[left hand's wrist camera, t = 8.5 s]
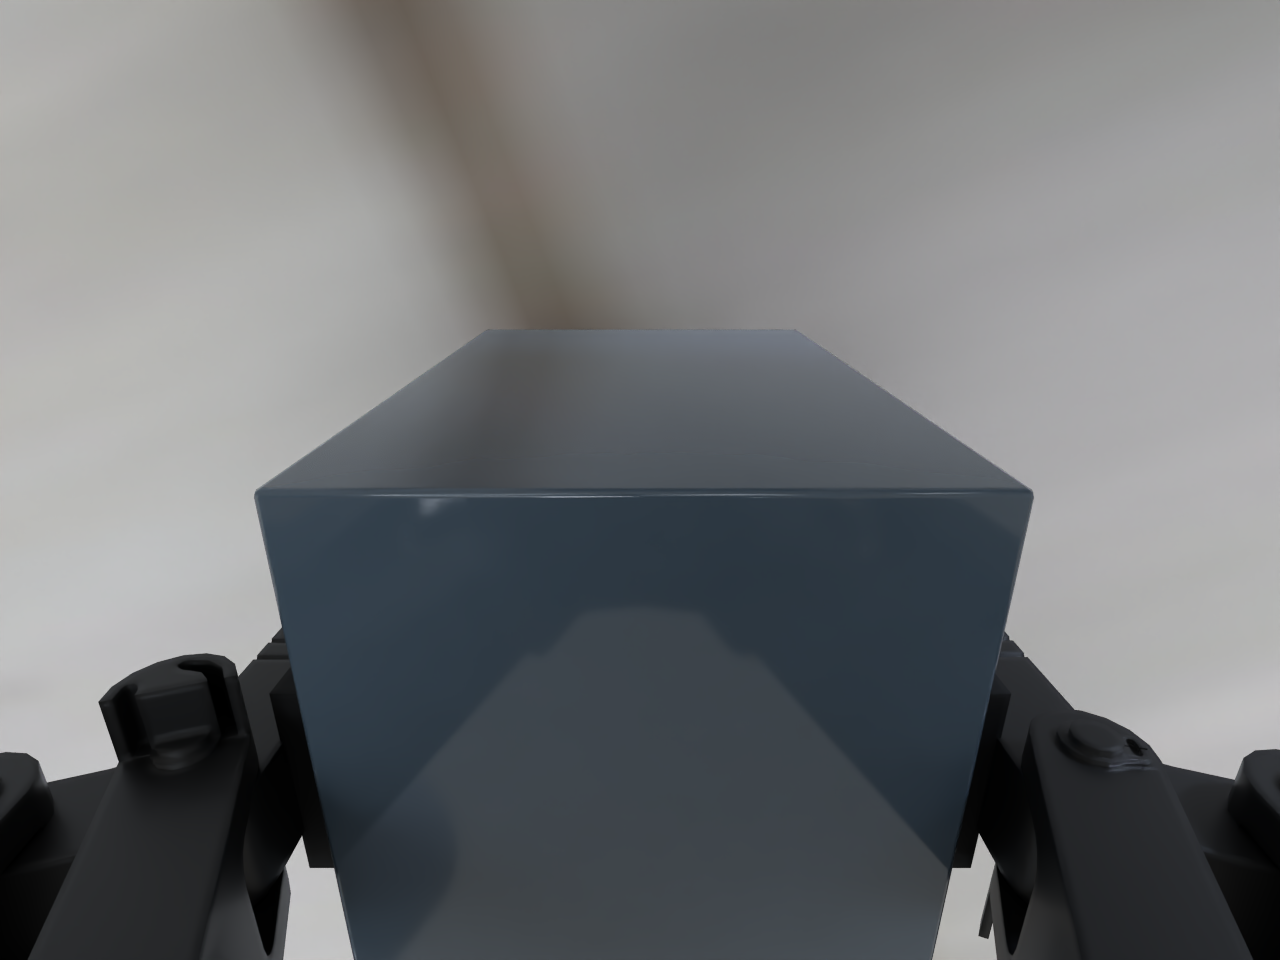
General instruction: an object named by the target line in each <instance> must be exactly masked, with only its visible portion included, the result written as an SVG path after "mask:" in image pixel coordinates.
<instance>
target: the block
mask: <svg viewBox="0 0 1280 960" xmlns="http://www.w3.org/2000/svg"><path fill="white" fill-rule="evenodd" d="M254 499H255V504H256V508H257V513H258V518H259V522H260V527H261V532H262V536H263V541H264V545H265V550H266V555H267V559H268V564H269V569H270V573H271V578H272V582H273V587H274V592H275V596H276V601H277V606H278V610H279V615H280V619H281V624H282V629H283V633H284V638H285V643H286V647H287V652H288V656H289V661H290V666H291V670H292V675H293V680H294V684H295V689H296V693H297V698H298V703H299V707H300V712H301V717H302V721H303V726H304V731H305V735H306V740H307V744H308V749H309V754H310V758H311V763H312V768H313V772H314V777H315V781H316V786H317V791H318V795H319V800H320V805H321V809H322V814H323V818H324V823H325V828H326V832H327V837H328V842H329V846H330V851H331V855H332V860H333V865H334V869H335V874H336V879H337V883H338V888H339V892H340V897H341V902H342V906H343V911H344V916H345V920H346V925H347V930H348V934H349V939H350V943H351V948H352V953H353V957H354V960H932V957H933V953H934V948H935V944H936V939H937V935H938V930H939V925H940V921H941V916H942V912H943V907H944V903H945V898H946V894H947V889H948V885H949V880H950V876H951V871H952V867H953V862H954V857H955V853H956V848H957V844H958V839H959V835H960V830H961V826H962V821H963V817H964V812H965V808H966V803H967V798H968V794H969V789H970V785H971V780H972V776H973V771H974V767H975V762H976V758H977V753H978V749H979V744H980V740H981V735H982V730H983V726H984V721H985V717H986V712H987V708H988V703H989V699H990V694H991V690H992V685H993V681H994V676H995V671H996V667H997V662H998V658H999V653H1000V649H1001V644H1002V640H1003V635H1004V631H1005V626H1006V622H1007V617H1008V613H1009V608H1010V603H1011V599H1012V594H1013V590H1014V585H1015V581H1016V576H1017V572H1018V567H1019V563H1020V558H1021V554H1022V549H1023V544H1024V540H1025V535H1026V531H1027V526H1028V522H1029V517H1030V513H1031V508H1032V504H1033V499H1034V495H1033V491H1032V489H1030V488H1029V487H1027V486H1026V485H1024V484H1023V483H1021V482H1020V481H1018V480H1017V479H1015V478H1014V477H1012V476H1011V475H1009V474H1008V473H1007V472H1005V471H1004V470H1002V469H1001V468H999V467H998V466H996V465H995V464H993V463H992V462H990V461H989V460H987V459H986V458H984V457H983V456H981V455H980V454H979V453H977V452H976V451H974V450H973V449H971V448H970V447H968V446H967V445H965V444H964V443H962V442H961V441H959V440H958V439H956V438H955V437H954V436H952V435H951V434H949V433H948V432H946V431H945V430H943V429H942V428H940V427H939V426H937V425H936V424H934V423H933V422H931V421H930V420H929V419H927V418H926V417H924V416H923V415H921V414H920V413H918V412H917V411H915V410H914V409H912V408H911V407H909V406H908V405H906V404H905V403H904V402H902V401H901V400H899V399H898V398H896V397H895V396H893V395H892V394H890V393H889V392H887V391H886V390H884V389H883V388H881V387H880V386H878V385H877V384H876V383H874V382H873V381H871V380H870V379H868V378H867V377H865V376H864V375H862V374H861V373H859V372H858V371H856V370H855V369H853V368H852V367H851V366H849V365H848V364H846V363H845V362H843V361H842V360H840V359H839V358H837V357H836V356H834V355H833V354H831V353H830V352H828V351H827V350H826V349H824V348H823V347H821V346H820V345H818V344H817V343H815V342H814V341H812V340H811V339H809V338H808V337H806V336H805V335H803V334H802V333H800V332H799V331H797V330H486V331H484V332H483V333H481V334H480V335H478V336H477V337H476V338H474V339H473V340H471V341H470V342H468V343H467V344H466V345H464V346H463V347H461V348H460V349H458V350H457V351H455V352H454V353H453V354H451V355H450V356H448V357H447V358H445V359H444V360H442V361H441V362H440V363H438V364H437V365H435V366H434V367H432V368H431V369H429V370H428V371H427V372H425V373H424V374H422V375H421V376H419V377H418V378H416V379H415V380H414V381H412V382H411V383H409V384H408V385H406V386H405V387H404V388H402V389H401V390H399V391H398V392H396V393H395V394H393V395H392V396H391V397H389V398H388V399H386V400H385V401H383V402H382V403H380V404H379V405H378V406H376V407H375V408H373V409H372V410H370V411H369V412H367V413H366V414H365V415H363V416H362V417H360V418H359V419H357V420H356V421H355V422H353V423H352V424H350V425H349V426H347V427H346V428H344V429H343V430H342V431H340V432H339V433H337V434H336V435H334V436H333V437H331V438H330V439H329V440H327V441H326V442H324V443H323V444H321V445H320V446H318V447H317V448H316V449H314V450H313V451H311V452H310V453H308V454H307V455H305V456H304V457H303V458H301V459H300V460H298V461H297V462H295V463H294V464H293V465H291V466H290V467H288V468H287V469H285V470H284V471H282V472H281V473H280V474H278V475H277V476H275V477H274V478H272V479H271V480H269V481H268V482H267V483H265V484H264V485H262V486H261V487H259V488H258V489H256V491H255V496H254Z"/></svg>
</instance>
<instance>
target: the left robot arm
mask: <svg viewBox="0 0 1280 960" xmlns="http://www.w3.org/2000/svg"><path fill="white" fill-rule="evenodd" d="M99 705H100V708H101V711H102V714H103V717H104V720H105V723H106V726H107V729H108V731H109V734H110V737H111V740H112V743H113V746H114V749H115V752H116V755H117V758H118V761H119V763H118V765H117V767H115V768H112V769H108V770H103V771H99V772H94V773H90V774H85V775H80V776H76V777H71V778H66V779H62V780H57V781H52V782H48V783H47V782H46V779H45V777H44V774H43V772H42V769H41V767H40V764H39V762H38V760H36V759H35V758H33V757H31V756H30V755H28V754H27V753H11V752H4V753H0V960H283V956H284V947H285V938H286V930H287V921H288V912H289V904H290V895H291V892H290V885H289V878H288V874H287V870H286V866H285V865H286V863H287V862H288V860H289V858H290V856H291V854H292V853H293V851H294V849H295V847H296V845H297V844H298V842H299V840H300V838H301V836H302V837H303V841H304V845H305V849H306V854H307V858H308V862H309V867H310V868H334V865H333V860H332V855H331V851H330V846H329V842H328V837H327V832H326V828H325V823H324V818H323V814H322V809H321V805H320V800H319V795H318V791H317V786H316V781H315V777H314V772H313V768H312V763H311V758H310V754H309V749H308V744H307V740H306V735H305V731H304V726H303V721H302V717H301V712H300V707H299V703H298V698H297V693H296V689H295V684H294V680H293V675H292V670H291V666H290V661H289V656H288V652H287V647H286V643H285V638H284V633H283V629H282V628H281V629H280V630H279V631H278V633H277V634H276V635H275V636H274V637H273V638H272V642H271V643H268V644H267V645H266V646H265V647H264V648H263V649H262V651H261V652H260V653H259V654H258V655H257V660H253V661H252V662H251V663H250V664H249V665H248V666H247V668H246V669H245V670H244V671H243V672H242V673H241V674H240V675H239V677H238V674H237V670H236V666H235V664H234V663H233V662H232V661H230V660H229V659H227V658H226V657H225V656H220V655H213V654H207V653H205V654H194V655H183V656H179V657H175V658H172V659H168V660H164V661H160V662H157V663H155V664H152V665H150V666H148V667H145V668H143V669H141V670H139V671H136V672H134V673H132V674H130V675H129V676H127V677H126V678H124V679H123V680H121V681H120V682H118V683H117V684H115V685H114V686H112V687H111V688H110V689H109V691H108V692H107V693H106V694H105V695H104V696H103V697H102V698H101V700H100V701H99ZM978 834H980V836H981V837H982V839H983V841H984V843H985V845H986V846H987V848H988V850H989V852H990V854H991V855H992V857H993V859H994V861H995V866H994V870H993V874H992V878H991V882H990V886H989V890H988V894H987V898H986V902H985V906H984V910H983V914H982V918H981V923H980V930H979V936H980V937H984V938H987V939H988V938H989V934H990V930H991V927H992V923H993V928H994V936H995V945H996V954H997V960H1280V750H1277V749H1272V750H1255V751H1254V752H1252V753H1251V754H1249V755H1247V756H1246V757H1244V758H1243V761H1242V763H1241V766H1240V768H1239V771H1238V773H1237V776H1236V778H1235V780H1233V779H1228V778H1223V777H1219V776H1214V775H1209V774H1205V773H1200V772H1196V771H1191V770H1186V769H1182V768H1177V767H1172V766H1169V765H1165V764H1162V762H1161V760H1160V759H1159V757H1158V756H1157V755H1156V753H1155V752H1154V751H1153V749H1152V748H1151V747H1150V745H1148V744H1147V743H1146V742H1145V741H1143V740H1142V739H1141V738H1139V737H1138V736H1137V735H1135V734H1134V733H1133V732H1132V731H1130V730H1129V729H1127V728H1125V727H1123V726H1121V725H1119V724H1117V723H1115V722H1113V721H1111V720H1109V719H1107V718H1104V717H1100V716H1097V715H1094V714H1091V713H1087V712H1084V711H1079V710H1074V709H1073V708H1072V706H1071V705H1070V704H1069V703H1068V702H1067V701H1066V700H1065V699H1064V697H1063V696H1062V695H1061V694H1060V693H1059V692H1058V691H1057V690H1056V688H1055V687H1054V686H1053V685H1052V684H1051V683H1050V682H1049V681H1048V680H1047V678H1046V677H1045V676H1044V675H1043V674H1042V673H1041V672H1040V671H1039V669H1038V668H1037V667H1036V666H1035V665H1034V664H1033V663H1032V662H1031V660H1030V659H1029V658H1028V657H1024V653H1023V652H1022V650H1021V649H1020V648H1019V647H1018V646H1017V645H1016V644H1015V643H1014V641H1010V640H1009V636H1008V635H1007V634H1006V632H1005V631H1004V635H1003V640H1002V644H1001V649H1000V653H999V658H998V662H997V667H996V671H995V676H994V681H993V685H992V690H991V694H990V699H989V703H988V708H987V712H986V717H985V721H984V726H983V730H982V735H981V740H980V744H979V749H978V753H977V758H976V762H975V767H974V771H973V776H972V780H971V785H970V789H969V794H968V798H967V803H966V808H965V812H964V817H963V821H962V826H961V830H960V835H959V839H958V844H957V848H956V853H955V857H954V862H953V867H952V868H971V864H972V860H973V856H974V852H975V847H976V843H977V839H978Z"/></svg>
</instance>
